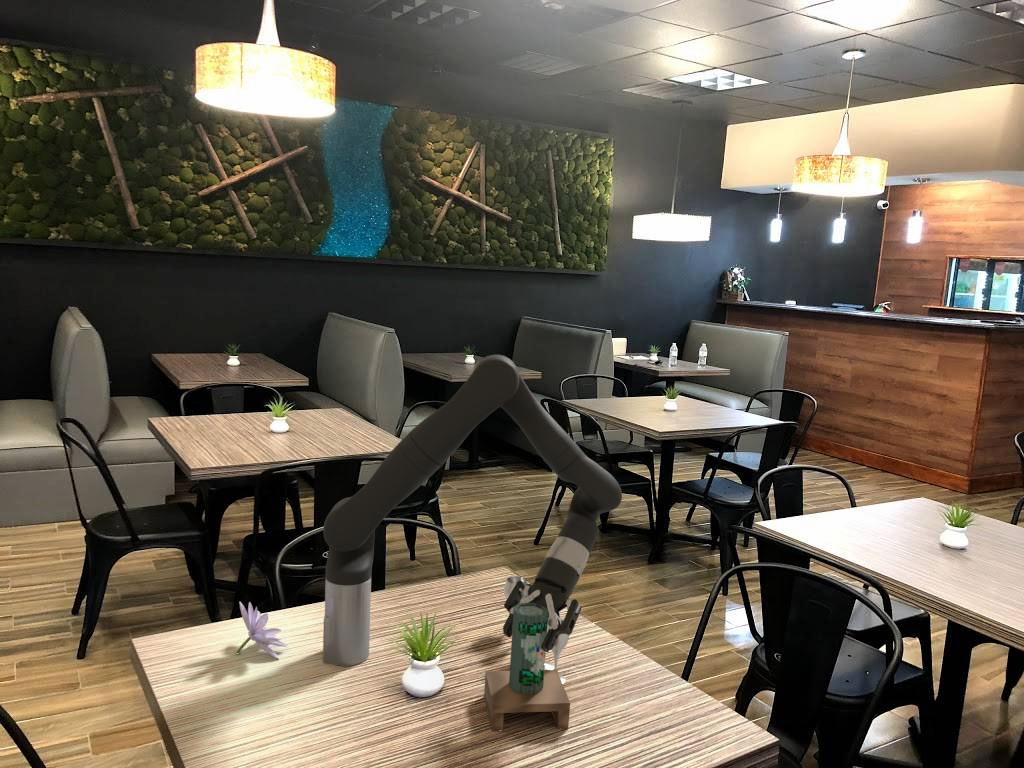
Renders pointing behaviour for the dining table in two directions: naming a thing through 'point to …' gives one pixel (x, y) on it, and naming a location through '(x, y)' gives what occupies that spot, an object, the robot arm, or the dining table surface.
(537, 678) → the can
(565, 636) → the goblet set
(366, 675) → the dining table surface
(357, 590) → the robot arm
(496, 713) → the walnut shelf
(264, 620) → the water lily
